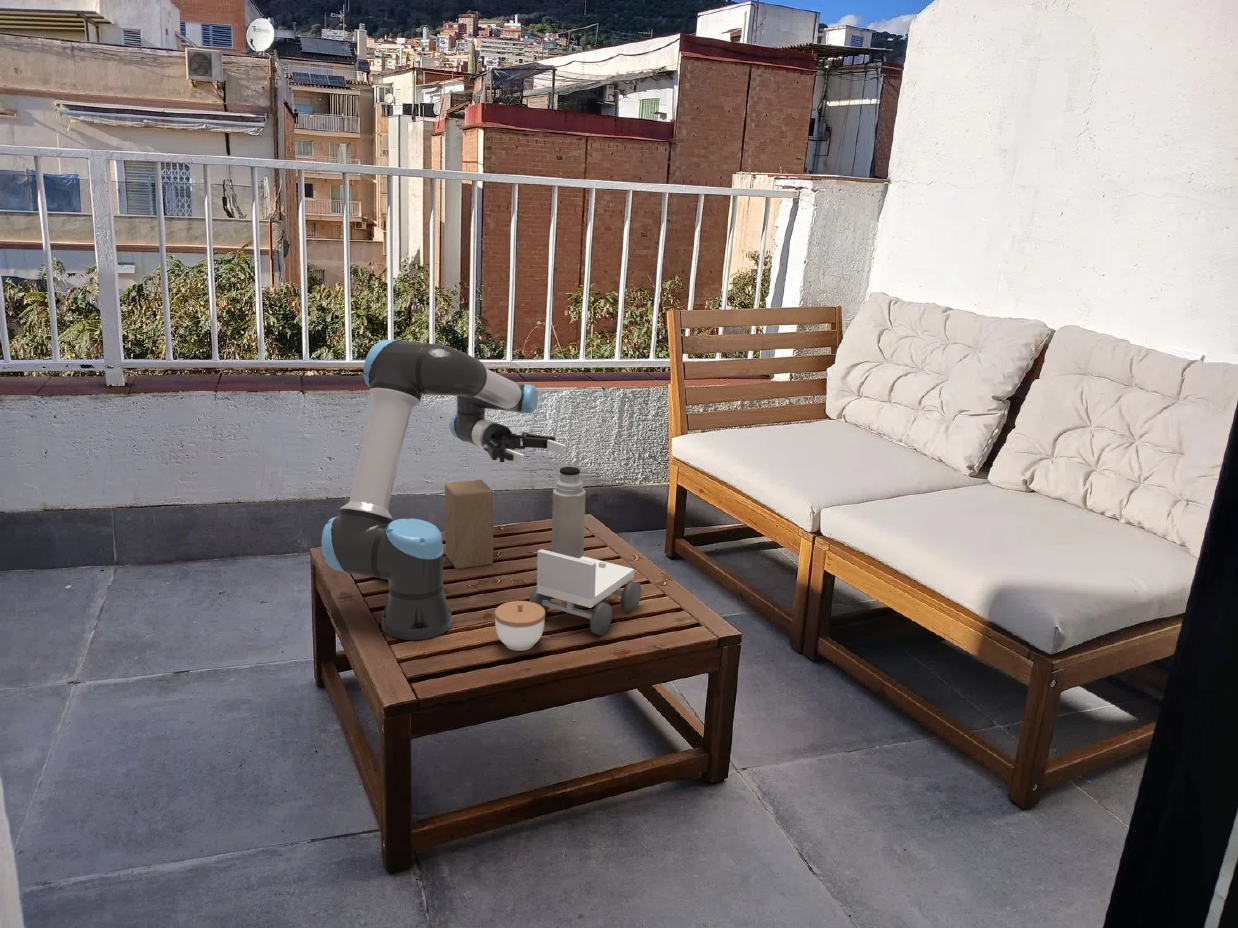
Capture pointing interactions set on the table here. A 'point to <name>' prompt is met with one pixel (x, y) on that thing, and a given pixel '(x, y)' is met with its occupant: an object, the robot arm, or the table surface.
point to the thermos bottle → (568, 514)
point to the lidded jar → (519, 624)
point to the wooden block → (469, 523)
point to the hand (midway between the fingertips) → (544, 455)
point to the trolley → (583, 586)
